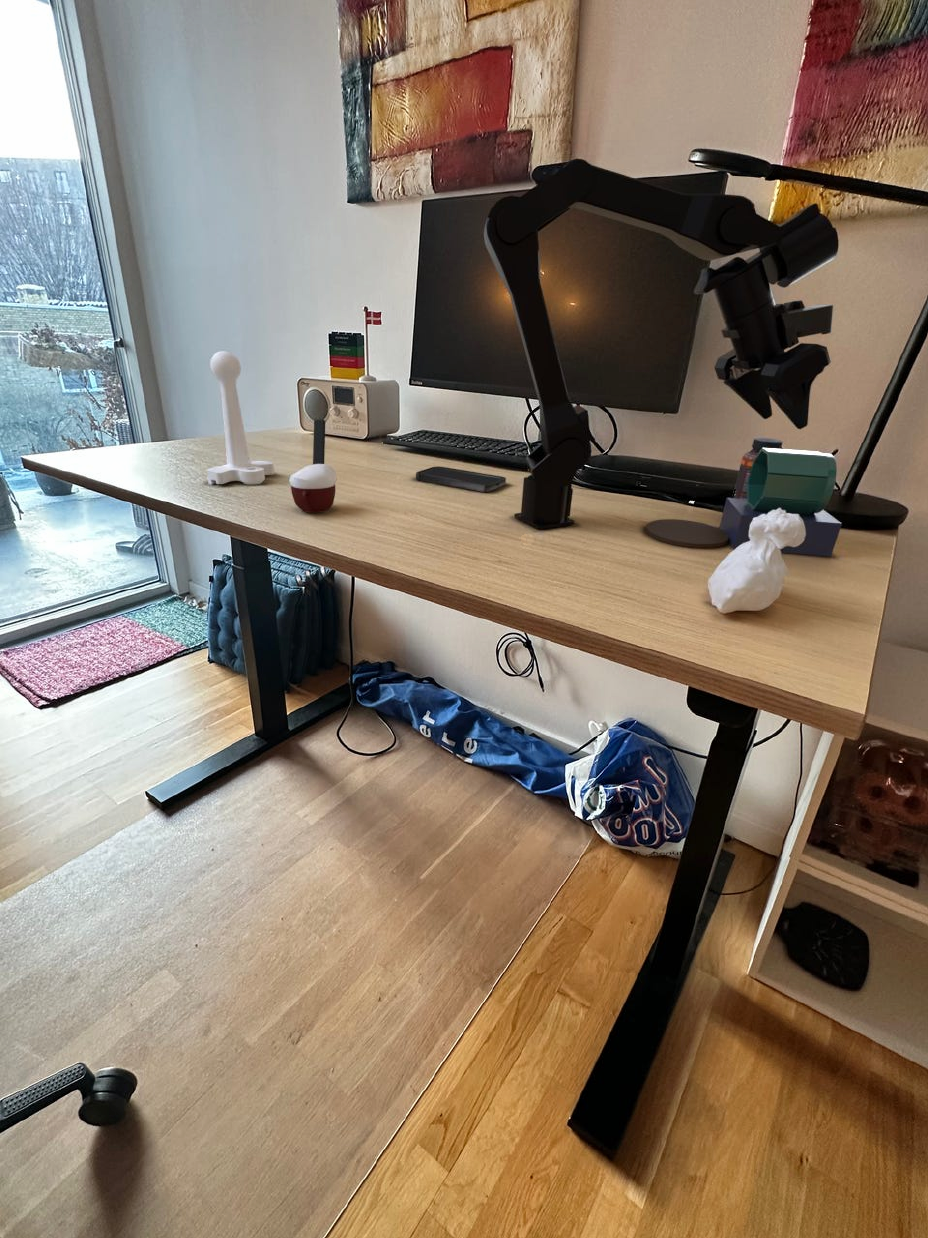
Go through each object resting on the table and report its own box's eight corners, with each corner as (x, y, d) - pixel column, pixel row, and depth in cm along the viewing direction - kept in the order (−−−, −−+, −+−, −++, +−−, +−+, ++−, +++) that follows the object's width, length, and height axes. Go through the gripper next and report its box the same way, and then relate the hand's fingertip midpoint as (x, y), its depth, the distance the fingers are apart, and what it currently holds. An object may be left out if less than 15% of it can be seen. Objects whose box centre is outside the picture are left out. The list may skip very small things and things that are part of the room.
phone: (436, 465, 109) (508, 477, 103) (436, 471, 110) (507, 483, 103) (413, 473, 103) (487, 485, 97) (413, 479, 104) (487, 492, 97)
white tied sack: (733, 647, 57) (844, 576, 50) (679, 590, 57) (783, 513, 50) (741, 602, 66) (835, 538, 60) (694, 554, 66) (783, 485, 60)
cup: (757, 515, 75) (773, 454, 71) (742, 500, 82) (757, 444, 78) (823, 520, 74) (843, 459, 70) (803, 504, 80) (820, 448, 77)
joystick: (260, 471, 105) (245, 350, 96) (287, 478, 101) (274, 352, 92) (203, 482, 97) (182, 350, 88) (230, 490, 93) (211, 353, 84)
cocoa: (312, 520, 80) (305, 430, 75) (278, 513, 83) (268, 425, 77) (354, 505, 88) (350, 422, 83) (321, 498, 90) (315, 418, 85)
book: (733, 548, 77) (741, 515, 75) (719, 528, 85) (726, 497, 82) (831, 557, 75) (842, 523, 73) (807, 535, 83) (817, 504, 81)
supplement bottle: (774, 519, 90) (795, 444, 84) (733, 515, 91) (752, 441, 85) (764, 509, 95) (783, 437, 90) (725, 505, 96) (743, 435, 91)
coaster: (689, 552, 74) (690, 548, 74) (628, 528, 83) (629, 524, 82) (745, 541, 79) (746, 537, 79) (682, 519, 88) (683, 515, 87)
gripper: (860, 263, 62) (892, 397, 68) (774, 277, 79) (806, 383, 85) (759, 323, 65) (798, 446, 71) (697, 324, 81) (733, 424, 87)
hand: (784, 422), depth 78 cm, fingers open, 9 cm apart
